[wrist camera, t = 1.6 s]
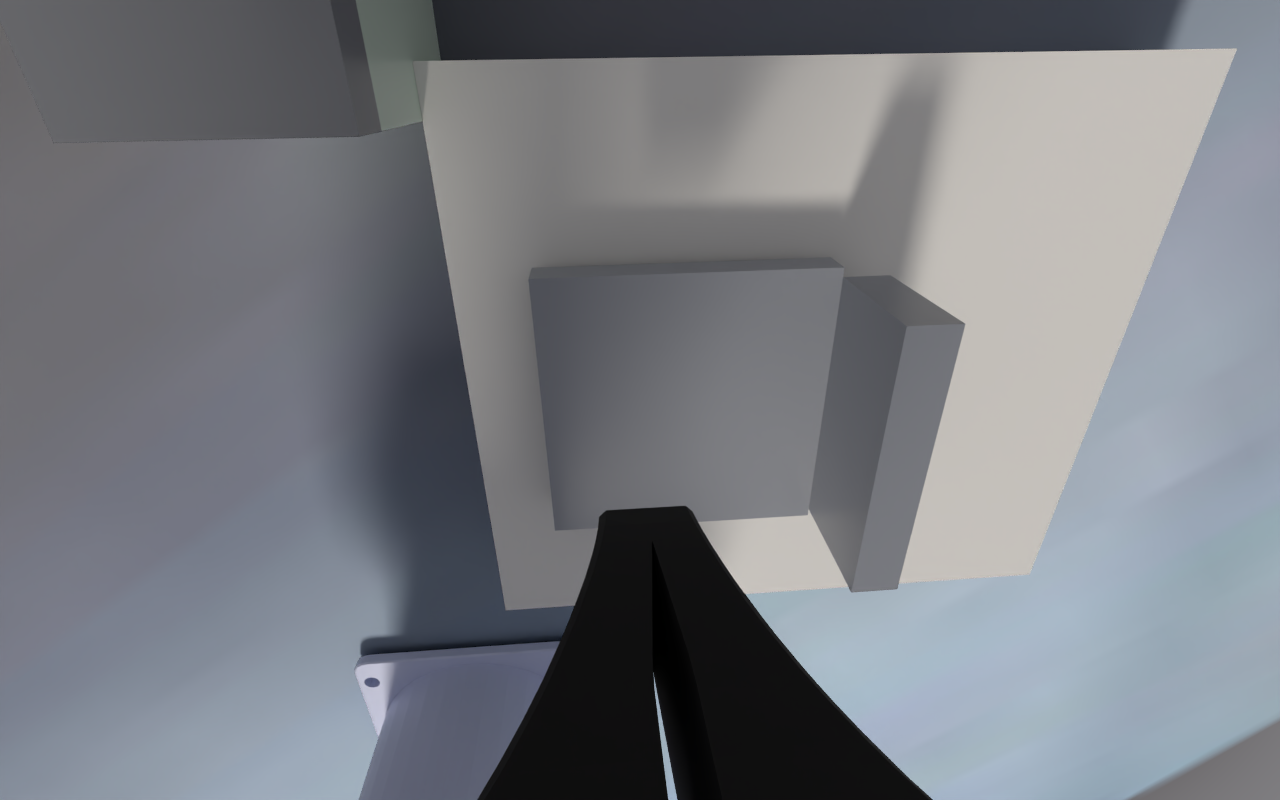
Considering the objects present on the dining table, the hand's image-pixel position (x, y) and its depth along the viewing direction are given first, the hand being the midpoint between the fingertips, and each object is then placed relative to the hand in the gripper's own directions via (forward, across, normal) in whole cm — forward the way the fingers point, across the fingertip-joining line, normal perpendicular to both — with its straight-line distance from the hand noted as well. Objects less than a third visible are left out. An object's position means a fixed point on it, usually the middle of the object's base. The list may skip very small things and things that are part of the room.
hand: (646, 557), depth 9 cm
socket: (+8, -4, 0) cm, 9 cm away
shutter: (+5, -2, 0) cm, 6 cm away
